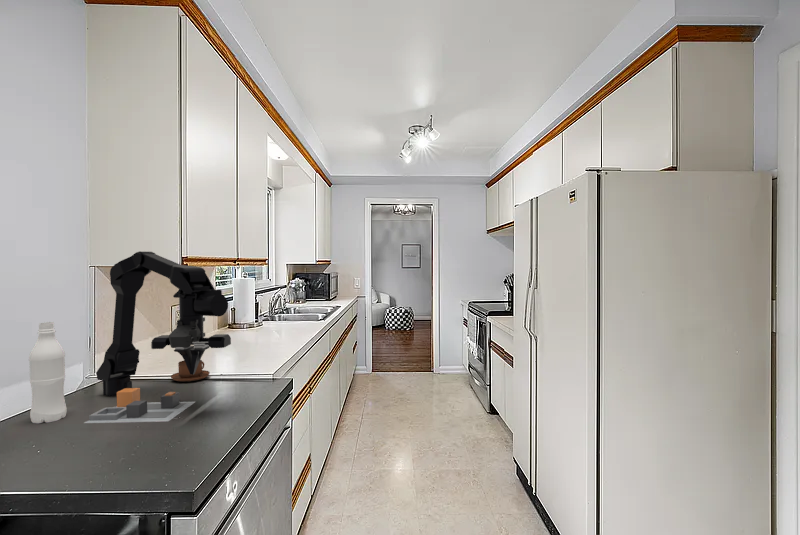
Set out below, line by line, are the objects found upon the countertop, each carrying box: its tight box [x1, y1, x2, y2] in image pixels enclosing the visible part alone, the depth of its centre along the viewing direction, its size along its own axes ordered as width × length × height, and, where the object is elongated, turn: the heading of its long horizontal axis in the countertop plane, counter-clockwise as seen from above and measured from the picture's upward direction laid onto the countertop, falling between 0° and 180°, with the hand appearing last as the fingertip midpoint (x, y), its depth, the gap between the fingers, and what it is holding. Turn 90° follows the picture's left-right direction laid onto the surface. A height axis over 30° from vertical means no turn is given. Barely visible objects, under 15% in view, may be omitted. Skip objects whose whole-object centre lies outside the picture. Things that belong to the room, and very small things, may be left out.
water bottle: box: [28, 321, 68, 424], centre depth 117 cm, size 7×7×25 cm
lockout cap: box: [116, 387, 141, 407], centre depth 127 cm, size 4×4×4 cm
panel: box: [84, 400, 196, 424], centre depth 121 cm, size 20×16×5 cm
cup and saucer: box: [170, 359, 210, 383], centre depth 161 cm, size 12×12×6 cm
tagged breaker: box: [160, 391, 181, 408], centre depth 125 cm, size 3×4×3 cm
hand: (192, 374), depth 125 cm, fingers closed
